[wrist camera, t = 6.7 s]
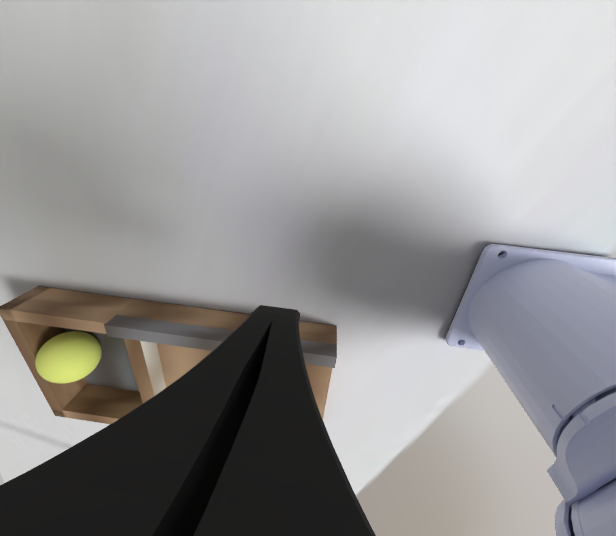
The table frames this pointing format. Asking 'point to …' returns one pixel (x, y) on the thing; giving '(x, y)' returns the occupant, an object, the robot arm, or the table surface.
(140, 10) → the table surface
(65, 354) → the ball
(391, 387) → the table surface
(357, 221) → the table surface
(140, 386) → the wooden tray
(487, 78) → the table surface
